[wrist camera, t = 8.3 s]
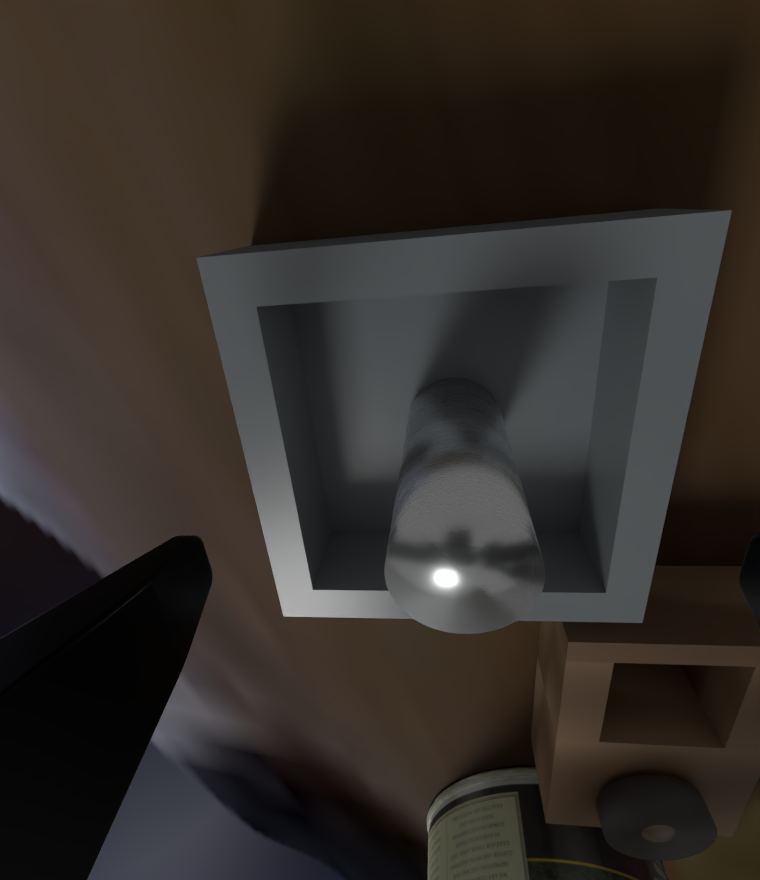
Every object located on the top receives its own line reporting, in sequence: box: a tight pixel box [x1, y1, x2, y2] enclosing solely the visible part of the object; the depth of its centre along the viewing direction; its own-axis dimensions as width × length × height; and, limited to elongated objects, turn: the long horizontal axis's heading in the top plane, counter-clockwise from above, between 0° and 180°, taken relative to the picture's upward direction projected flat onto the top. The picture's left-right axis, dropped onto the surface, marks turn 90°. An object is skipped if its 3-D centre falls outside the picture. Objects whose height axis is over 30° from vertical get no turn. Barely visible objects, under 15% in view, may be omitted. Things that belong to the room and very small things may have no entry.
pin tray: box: [197, 208, 732, 623], centre depth 12 cm, size 10×10×3 cm
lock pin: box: [384, 378, 545, 634], centre depth 10 cm, size 2×2×6 cm
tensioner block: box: [531, 566, 760, 861], centre depth 15 cm, size 9×6×4 cm, turn 5°
